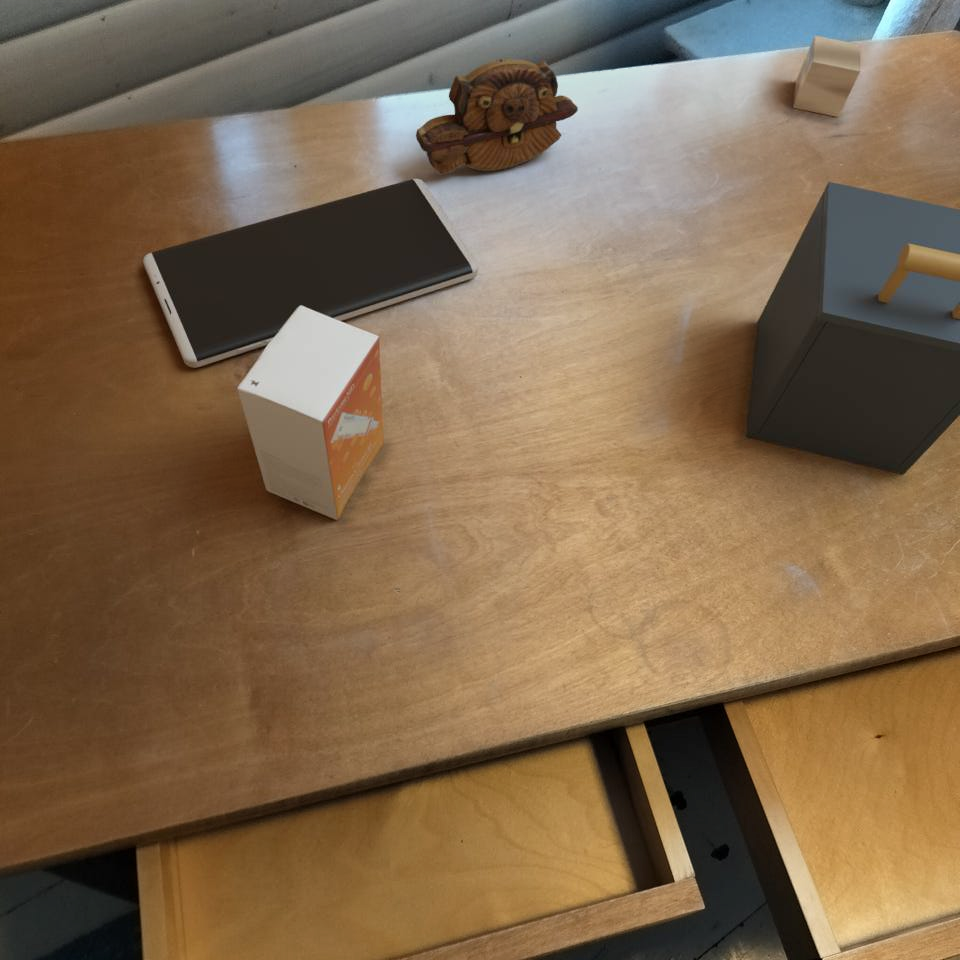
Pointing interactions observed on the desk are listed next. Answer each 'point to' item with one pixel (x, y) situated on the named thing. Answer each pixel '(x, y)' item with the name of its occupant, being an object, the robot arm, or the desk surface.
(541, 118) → the wooden carving
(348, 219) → the smartphone
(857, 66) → the block
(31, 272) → the desk surface
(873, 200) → the lid
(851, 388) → the chest
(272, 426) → the small box
